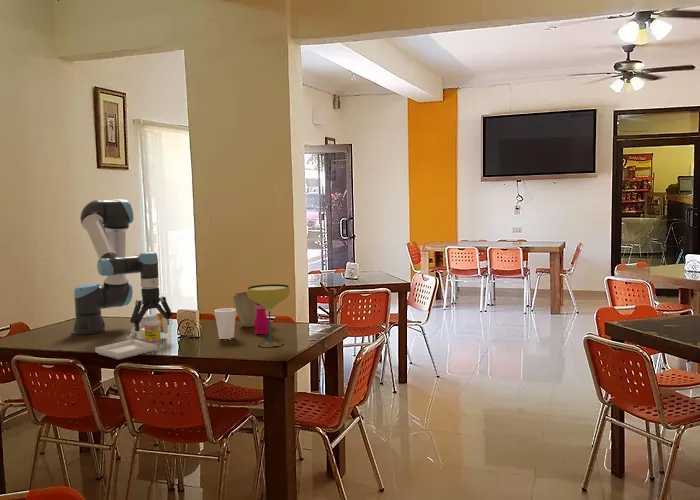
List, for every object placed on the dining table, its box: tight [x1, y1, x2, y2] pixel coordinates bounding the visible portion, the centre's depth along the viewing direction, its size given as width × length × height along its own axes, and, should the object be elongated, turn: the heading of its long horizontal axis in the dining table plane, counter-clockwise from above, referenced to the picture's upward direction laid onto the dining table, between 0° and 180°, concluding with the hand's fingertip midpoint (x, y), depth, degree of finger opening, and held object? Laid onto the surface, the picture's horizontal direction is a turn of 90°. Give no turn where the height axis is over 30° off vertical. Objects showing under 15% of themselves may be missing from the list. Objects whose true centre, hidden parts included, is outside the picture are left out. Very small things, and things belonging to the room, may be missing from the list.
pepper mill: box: [253, 302, 269, 335], centre depth 305 cm, size 7×7×20 cm
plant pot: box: [232, 291, 257, 328], centre depth 326 cm, size 15×15×16 cm
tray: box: [94, 340, 158, 360], centre depth 276 cm, size 18×18×2 cm
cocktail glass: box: [246, 283, 291, 344], centre depth 281 cm, size 18×18×25 cm
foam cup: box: [214, 307, 237, 340], centre depth 297 cm, size 10×9×13 cm
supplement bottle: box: [143, 313, 162, 346], centre depth 290 cm, size 7×7×13 cm
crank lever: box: [130, 312, 164, 337], centre depth 298 cm, size 16×4×8 cm, turn 130°
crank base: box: [125, 333, 145, 342], centre depth 294 cm, size 9×9×4 cm
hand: (152, 335), depth 290 cm, fingers open, 12 cm apart
